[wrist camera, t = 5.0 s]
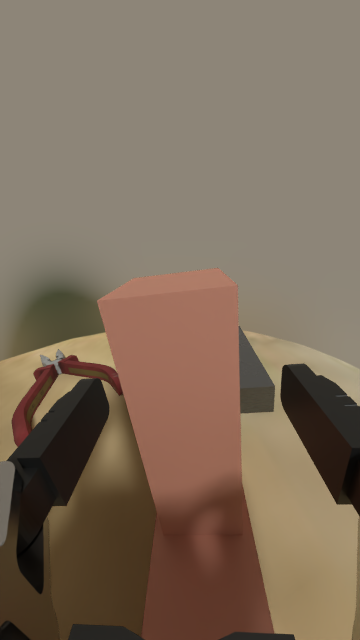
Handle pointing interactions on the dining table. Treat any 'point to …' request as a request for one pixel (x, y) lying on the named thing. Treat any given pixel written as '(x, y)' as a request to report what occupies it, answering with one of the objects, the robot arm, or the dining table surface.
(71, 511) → the dining table surface
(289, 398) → the robot arm
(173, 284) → the pink tall block
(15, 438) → the pliers
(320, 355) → the dining table surface
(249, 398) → the grey socket board
